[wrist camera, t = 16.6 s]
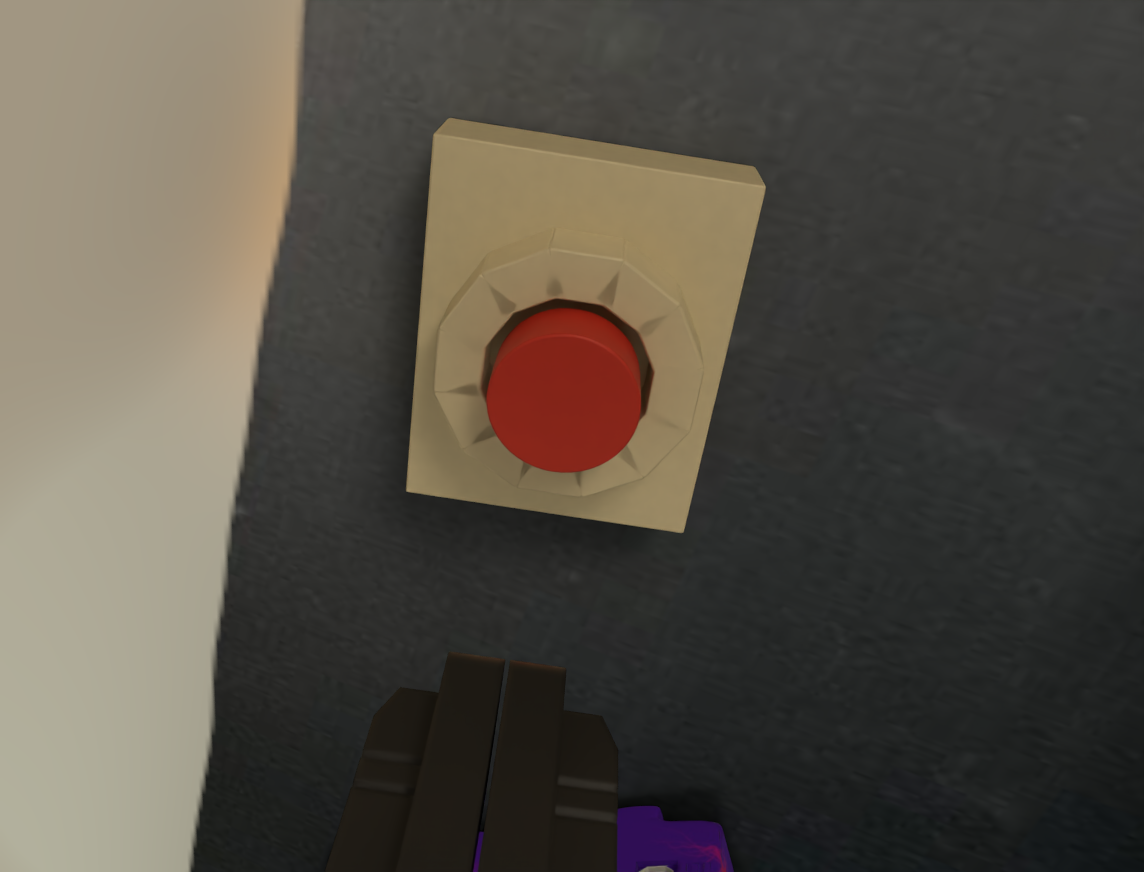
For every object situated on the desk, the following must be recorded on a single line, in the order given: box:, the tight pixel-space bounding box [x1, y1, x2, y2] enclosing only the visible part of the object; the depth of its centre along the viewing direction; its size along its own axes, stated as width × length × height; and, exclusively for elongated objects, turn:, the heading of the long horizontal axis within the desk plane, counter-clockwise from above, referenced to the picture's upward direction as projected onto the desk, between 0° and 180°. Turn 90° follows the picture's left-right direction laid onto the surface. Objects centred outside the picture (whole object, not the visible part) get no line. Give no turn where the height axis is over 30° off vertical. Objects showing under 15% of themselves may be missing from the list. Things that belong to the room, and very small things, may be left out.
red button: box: [486, 308, 641, 473], centre depth 23 cm, size 4×4×2 cm
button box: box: [406, 118, 766, 533], centre depth 25 cm, size 10×8×4 cm
